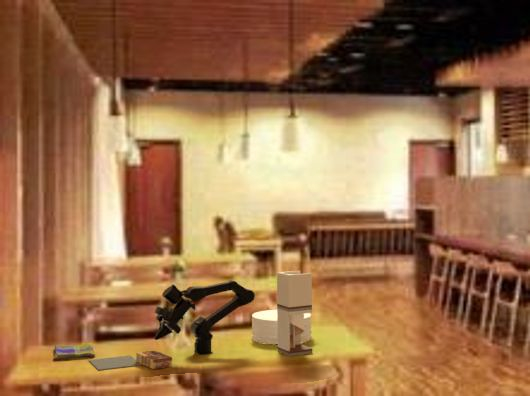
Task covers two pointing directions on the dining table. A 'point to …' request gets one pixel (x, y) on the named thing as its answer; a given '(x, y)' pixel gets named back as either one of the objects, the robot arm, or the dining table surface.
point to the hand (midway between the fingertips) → (155, 339)
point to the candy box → (154, 359)
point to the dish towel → (74, 352)
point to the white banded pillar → (293, 310)
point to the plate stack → (274, 327)
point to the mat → (114, 362)
